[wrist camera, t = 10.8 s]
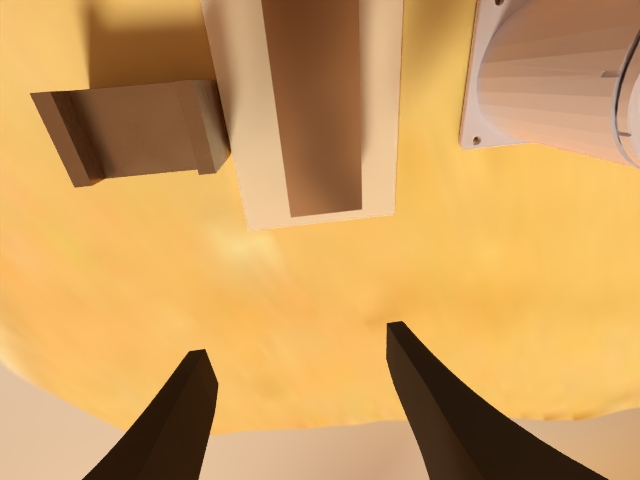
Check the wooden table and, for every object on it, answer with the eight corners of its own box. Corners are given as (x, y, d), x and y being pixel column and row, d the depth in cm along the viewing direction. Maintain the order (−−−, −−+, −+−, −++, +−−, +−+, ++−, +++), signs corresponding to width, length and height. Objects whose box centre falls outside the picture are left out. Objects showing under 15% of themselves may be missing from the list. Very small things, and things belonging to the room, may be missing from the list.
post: (214, 80, 16) (193, 79, 13) (230, 154, 18) (215, 173, 15) (89, 91, 16) (29, 93, 12) (118, 165, 18) (74, 187, 14)
